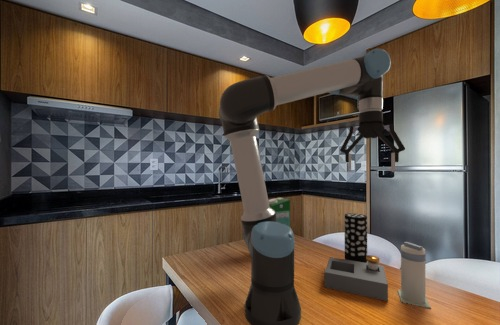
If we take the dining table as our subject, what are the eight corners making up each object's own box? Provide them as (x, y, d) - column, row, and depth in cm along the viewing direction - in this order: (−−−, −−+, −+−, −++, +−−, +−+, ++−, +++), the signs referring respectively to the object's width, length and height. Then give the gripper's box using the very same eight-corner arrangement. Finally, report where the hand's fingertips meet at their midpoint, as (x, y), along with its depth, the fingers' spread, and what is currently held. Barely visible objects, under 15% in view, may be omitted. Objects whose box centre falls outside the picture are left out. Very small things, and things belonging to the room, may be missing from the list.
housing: (387, 301, 69) (387, 284, 69) (324, 287, 76) (324, 272, 76) (383, 280, 81) (383, 265, 81) (329, 269, 89) (329, 256, 89)
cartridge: (430, 301, 68) (430, 246, 68) (416, 305, 66) (416, 249, 66) (410, 290, 74) (410, 240, 74) (396, 294, 71) (396, 242, 72)
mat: (430, 308, 65) (430, 307, 65) (401, 302, 68) (401, 301, 68) (424, 296, 71) (424, 294, 71) (397, 290, 74) (397, 289, 74)
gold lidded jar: (379, 280, 76) (379, 260, 76) (366, 277, 78) (366, 258, 78) (379, 275, 80) (378, 256, 80) (366, 272, 82) (366, 254, 82)
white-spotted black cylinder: (348, 259, 99) (348, 212, 99) (369, 264, 94) (369, 215, 94) (341, 265, 93) (341, 215, 93) (364, 272, 87) (364, 218, 88)
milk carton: (262, 251, 108) (262, 197, 108) (279, 248, 112) (279, 196, 112) (272, 258, 100) (272, 200, 100) (290, 255, 103) (290, 199, 104)
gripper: (410, 111, 81) (410, 171, 80) (334, 117, 91) (334, 170, 91) (415, 106, 74) (415, 172, 74) (332, 113, 84) (332, 171, 84)
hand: (370, 171), depth 82 cm, fingers open, 13 cm apart
